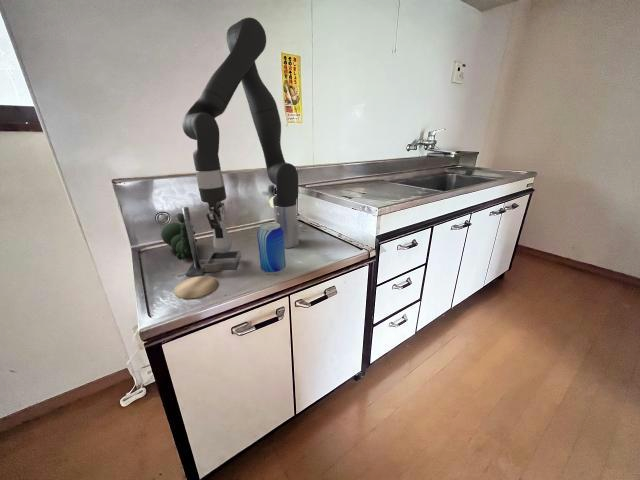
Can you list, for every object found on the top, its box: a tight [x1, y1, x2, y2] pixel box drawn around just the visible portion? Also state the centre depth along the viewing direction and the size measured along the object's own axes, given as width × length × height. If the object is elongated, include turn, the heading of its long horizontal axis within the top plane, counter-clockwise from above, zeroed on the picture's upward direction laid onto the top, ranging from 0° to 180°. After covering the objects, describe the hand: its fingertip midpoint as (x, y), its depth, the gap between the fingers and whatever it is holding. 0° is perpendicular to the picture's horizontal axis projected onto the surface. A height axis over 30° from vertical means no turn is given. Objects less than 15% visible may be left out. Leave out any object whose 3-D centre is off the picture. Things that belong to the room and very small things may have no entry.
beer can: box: [256, 222, 287, 276], centre depth 87 cm, size 8×8×16 cm
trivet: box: [173, 275, 219, 300], centre depth 80 cm, size 12×12×1 cm
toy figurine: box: [160, 212, 199, 260], centre depth 100 cm, size 9×19×25 cm
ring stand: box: [181, 206, 242, 277], centre depth 87 cm, size 16×10×22 cm, turn 97°
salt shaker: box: [212, 214, 233, 253], centre depth 87 cm, size 6×6×13 cm
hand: (221, 236), depth 87 cm, fingers closed on salt shaker, 3 cm apart
